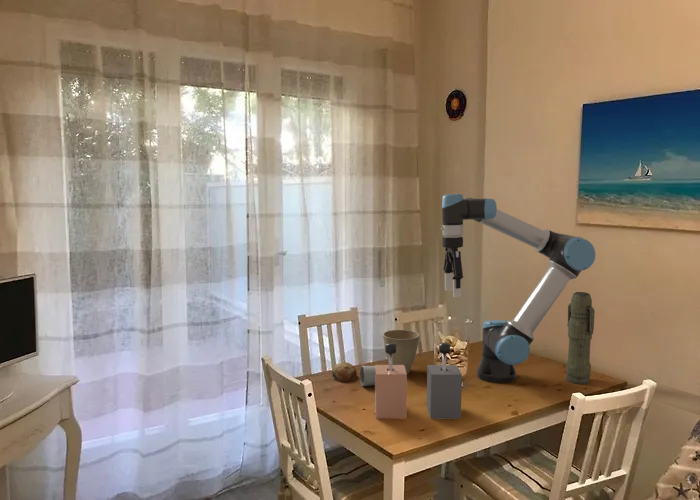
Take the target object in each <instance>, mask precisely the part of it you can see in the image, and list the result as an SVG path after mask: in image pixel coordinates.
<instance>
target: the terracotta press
mask: <svg viewBox="0 0 700 500" xmlns="http://www.w3.org/2000/svg"><path fill="white" fill-rule="evenodd" d="M374 366H375V385H374V411H375V419H407V400H408V399H407V397H408V396H407V393H408V392H407V389H408V388H407V385H408V384H407V381H408V379H407V378H408V374H407V373H406V370H405V366H404V365H392V371H389V364H374Z"/></svg>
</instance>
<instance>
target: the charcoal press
mask: <svg viewBox="0 0 700 500" xmlns="http://www.w3.org/2000/svg"><path fill="white" fill-rule="evenodd" d="M426 381H427V382H426V408H427V409H426V410H427V413H428V415H429V418H430V419H438V420H439V419H440V420H441V419H442V420H443V419H444V420H446V419H449V420H450V419H451V420H452V419H455V420H457V419H462V390H463V389H462V386H463V385H462V384H463V383H462V381H463V374H462V373H461V370H460V369H459V367H458V366H457V364H446V371H442V364H427V368H426Z"/></svg>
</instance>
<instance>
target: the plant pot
mask: <svg viewBox="0 0 700 500" xmlns="http://www.w3.org/2000/svg"><path fill="white" fill-rule="evenodd" d="M382 336H383V337H382V339H383V344H384V347H385V344H386V343H390V342H391V343H396V353H393V354H392V365H404V366H405V370H406V373H407V375H408V374H410V372H411V371H412V370H411V369H413V368H412V367H413V364H414V361H415V360H416V359H415V358H416V355H417V351H418V346H419V340H420V333H419V332H417V331H413V330H410V329H409V330H407V329H391V330H390V329H389V330H386V331H384V332H383V333H382ZM385 354H386V358H387V362H388V363H389V353H386V352H385Z"/></svg>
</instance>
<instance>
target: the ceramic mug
mask: <svg viewBox="0 0 700 500" xmlns="http://www.w3.org/2000/svg"><path fill="white" fill-rule="evenodd" d="M359 381H360V382H359V383H360V385H361V387H369V386H370V387H372V386H374V387H375V365H361V366H360V370H359Z"/></svg>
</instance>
